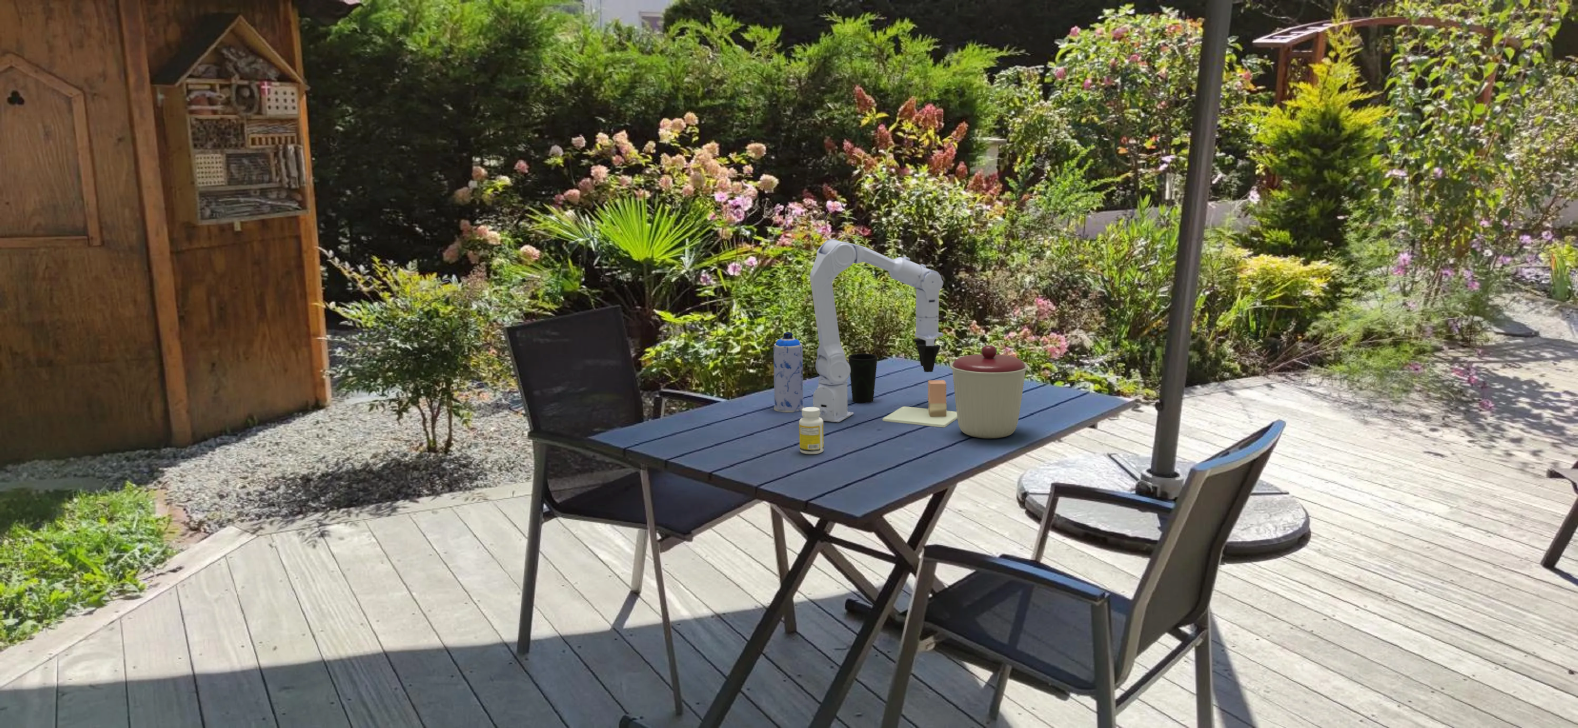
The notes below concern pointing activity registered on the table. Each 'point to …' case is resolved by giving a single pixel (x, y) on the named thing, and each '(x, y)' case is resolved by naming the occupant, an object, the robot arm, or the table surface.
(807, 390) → the table surface
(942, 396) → the terracotta brick
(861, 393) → the cup
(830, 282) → the robot arm
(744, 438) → the table surface
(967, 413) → the canister
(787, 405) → the aerosol can
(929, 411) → the beech brick
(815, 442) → the supplement bottle
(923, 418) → the plate
